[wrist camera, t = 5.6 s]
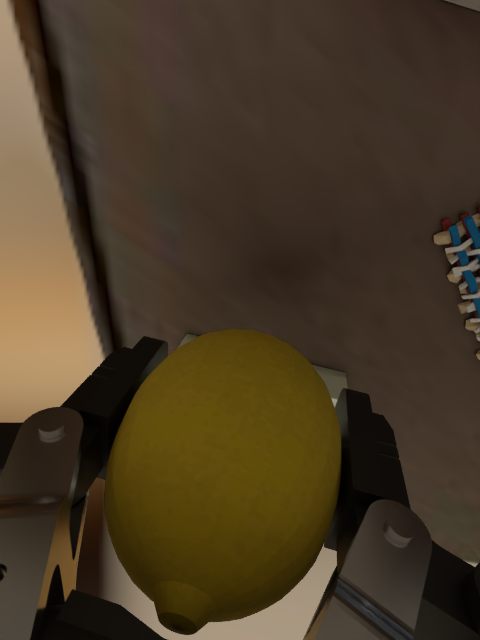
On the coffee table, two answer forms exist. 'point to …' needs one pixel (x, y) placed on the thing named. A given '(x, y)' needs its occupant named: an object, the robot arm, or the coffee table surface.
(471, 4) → the milk carton
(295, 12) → the coffee table surface
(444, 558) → the robot arm
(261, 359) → the lemon
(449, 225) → the woven mat
